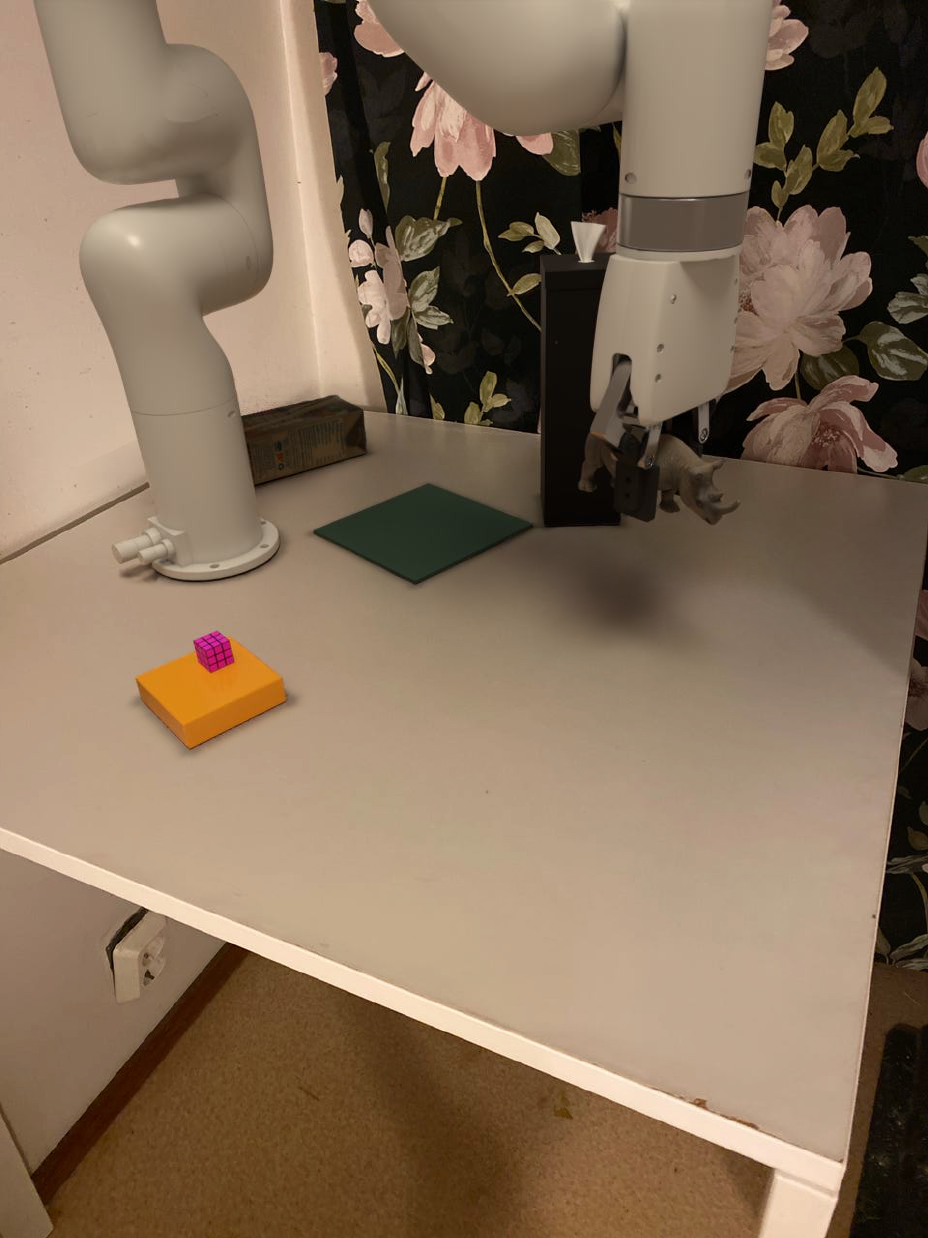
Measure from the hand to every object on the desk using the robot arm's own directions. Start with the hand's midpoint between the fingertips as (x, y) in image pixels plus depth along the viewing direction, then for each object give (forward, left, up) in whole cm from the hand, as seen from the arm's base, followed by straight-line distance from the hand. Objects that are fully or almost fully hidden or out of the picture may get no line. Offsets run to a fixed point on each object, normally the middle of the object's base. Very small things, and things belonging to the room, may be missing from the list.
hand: (655, 501), depth 62 cm
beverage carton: (+4, +56, -13) cm, 58 cm away
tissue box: (+17, +21, -13) cm, 30 cm away
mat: (+3, +30, -13) cm, 33 cm away
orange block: (-27, +20, -13) cm, 36 cm away
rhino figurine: (0, 0, -1) cm, 1 cm away
